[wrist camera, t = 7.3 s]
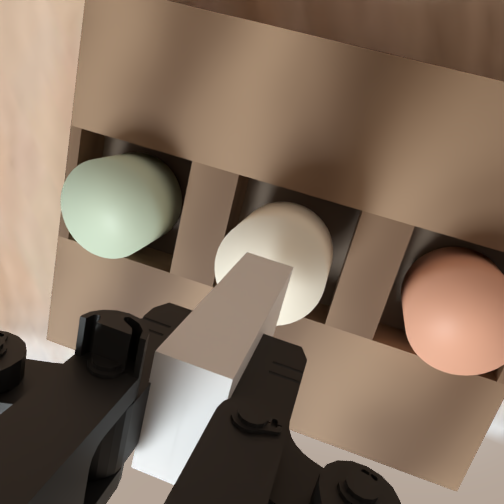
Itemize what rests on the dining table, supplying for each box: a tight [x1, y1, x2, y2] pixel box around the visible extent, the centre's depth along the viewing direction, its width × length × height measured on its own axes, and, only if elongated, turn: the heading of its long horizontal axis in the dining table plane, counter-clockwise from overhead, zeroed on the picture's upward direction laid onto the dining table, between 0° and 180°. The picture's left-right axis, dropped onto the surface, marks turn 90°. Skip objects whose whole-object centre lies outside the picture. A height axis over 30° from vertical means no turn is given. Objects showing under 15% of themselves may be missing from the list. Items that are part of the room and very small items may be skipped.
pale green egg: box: [61, 152, 182, 259], centre depth 20 cm, size 4×4×3 cm
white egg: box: [215, 202, 333, 326], centre depth 18 cm, size 4×4×3 cm
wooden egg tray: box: [47, 0, 504, 491], centre depth 21 cm, size 20×16×3 cm
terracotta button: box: [401, 247, 504, 376], centre depth 18 cm, size 4×4×3 cm
